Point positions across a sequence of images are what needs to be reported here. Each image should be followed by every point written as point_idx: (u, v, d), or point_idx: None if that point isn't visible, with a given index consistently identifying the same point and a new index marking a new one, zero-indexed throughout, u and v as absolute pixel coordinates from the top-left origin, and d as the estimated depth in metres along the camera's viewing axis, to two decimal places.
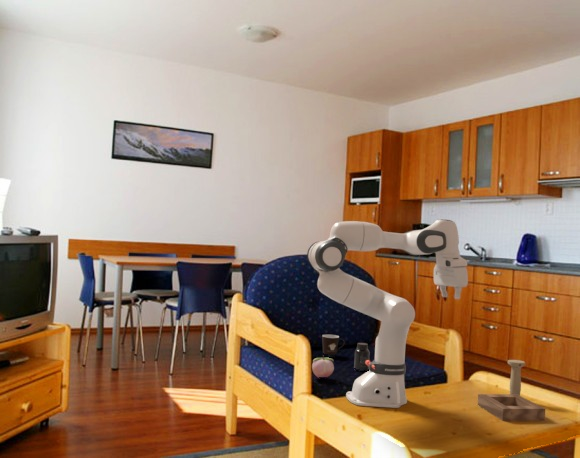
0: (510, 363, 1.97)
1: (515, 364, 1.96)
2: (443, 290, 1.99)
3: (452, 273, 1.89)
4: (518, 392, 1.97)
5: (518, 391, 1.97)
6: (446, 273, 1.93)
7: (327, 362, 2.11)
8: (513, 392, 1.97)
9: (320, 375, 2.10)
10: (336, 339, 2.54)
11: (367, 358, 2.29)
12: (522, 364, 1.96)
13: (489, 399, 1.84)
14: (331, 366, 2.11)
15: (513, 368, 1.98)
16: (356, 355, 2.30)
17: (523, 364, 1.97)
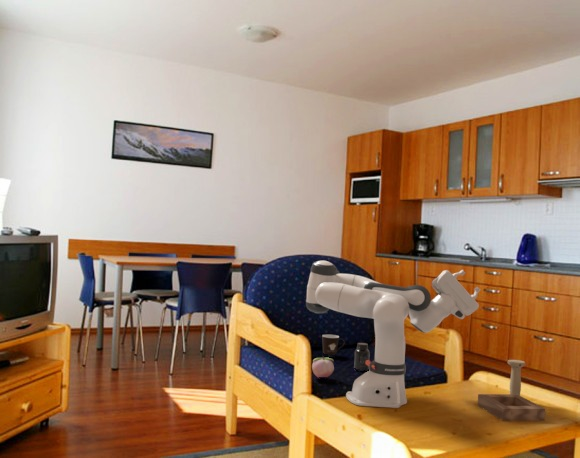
0: (510, 363, 1.97)
1: (515, 364, 1.96)
2: None
3: None
4: (518, 392, 1.97)
5: (518, 391, 1.97)
6: None
7: (327, 362, 2.11)
8: (513, 392, 1.97)
9: (320, 375, 2.10)
10: (336, 339, 2.54)
11: (367, 358, 2.29)
12: (522, 364, 1.96)
13: (489, 399, 1.84)
14: (331, 366, 2.11)
15: (513, 368, 1.98)
16: (356, 355, 2.30)
17: (523, 364, 1.97)
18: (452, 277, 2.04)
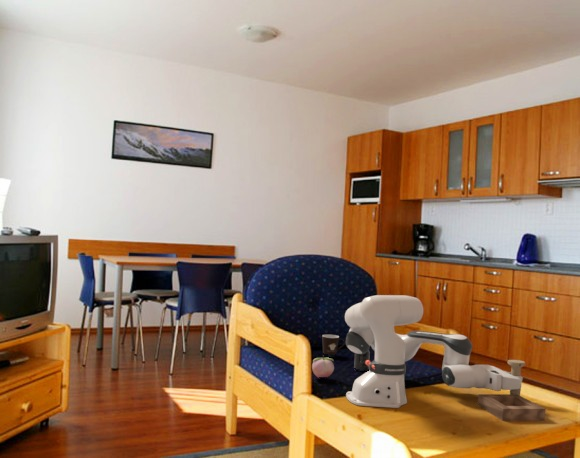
0: (510, 363, 1.97)
1: (515, 364, 1.96)
2: None
3: None
4: (518, 392, 1.97)
5: (518, 391, 1.97)
6: None
7: (327, 362, 2.11)
8: (513, 392, 1.97)
9: (320, 375, 2.10)
10: (336, 339, 2.54)
11: (367, 358, 2.29)
12: (522, 364, 1.96)
13: (489, 399, 1.84)
14: (331, 366, 2.11)
15: (513, 368, 1.98)
16: (356, 355, 2.30)
17: (523, 364, 1.97)
18: (495, 367, 2.04)
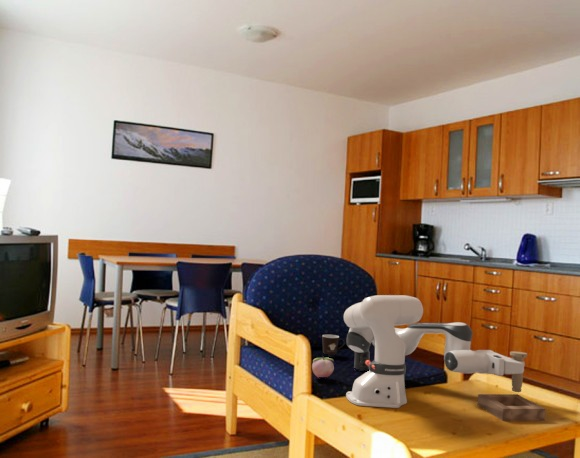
0: (513, 354, 1.97)
1: (518, 355, 1.96)
2: None
3: None
4: (520, 383, 1.96)
5: (520, 382, 1.96)
6: None
7: (327, 362, 2.11)
8: (515, 383, 1.97)
9: (320, 375, 2.10)
10: (336, 339, 2.54)
11: (367, 358, 2.29)
12: (525, 355, 1.97)
13: (489, 399, 1.84)
14: (331, 366, 2.11)
15: (516, 359, 1.98)
16: (356, 355, 2.30)
17: (526, 355, 1.97)
18: (497, 353, 2.04)
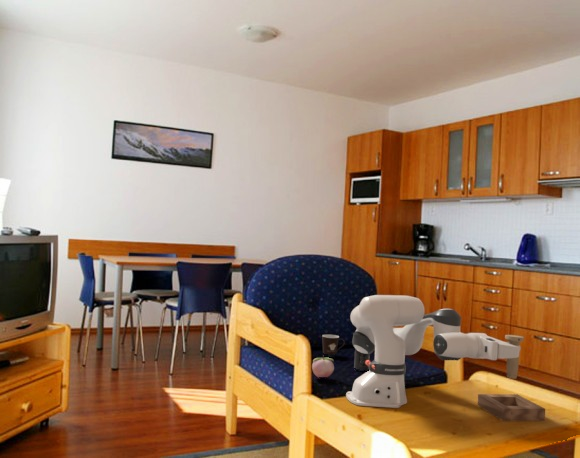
0: (508, 338, 1.82)
1: (514, 339, 1.81)
2: None
3: None
4: (516, 369, 1.81)
5: (516, 368, 1.81)
6: None
7: (327, 362, 2.11)
8: (510, 369, 1.81)
9: (320, 375, 2.10)
10: (336, 339, 2.54)
11: (367, 358, 2.29)
12: (521, 339, 1.81)
13: (489, 399, 1.84)
14: (331, 366, 2.11)
15: (511, 343, 1.82)
16: (356, 355, 2.30)
17: (522, 339, 1.82)
18: (491, 337, 1.89)
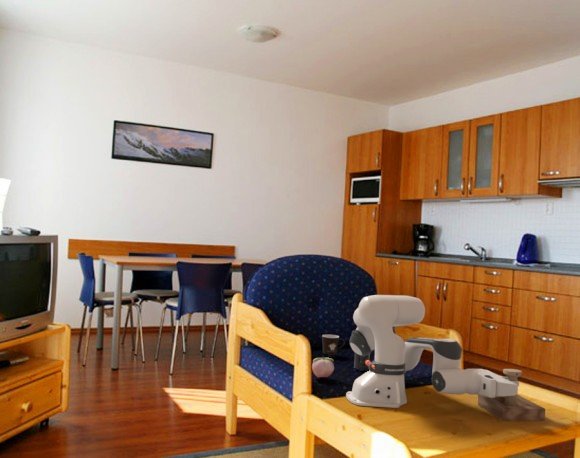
0: (506, 372, 1.81)
1: (512, 373, 1.81)
2: None
3: None
4: (514, 404, 1.81)
5: (514, 403, 1.81)
6: None
7: (327, 362, 2.11)
8: (509, 404, 1.81)
9: (320, 375, 2.10)
10: (336, 339, 2.54)
11: (367, 358, 2.29)
12: (519, 373, 1.81)
13: (489, 399, 1.84)
14: (331, 366, 2.11)
15: (509, 378, 1.82)
16: (356, 355, 2.30)
17: (520, 373, 1.81)
18: None
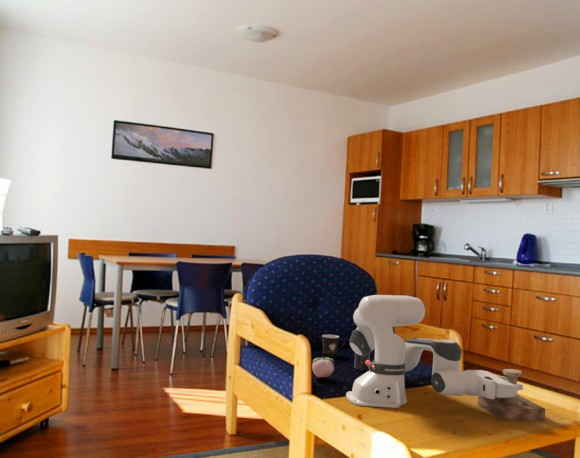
0: (506, 373, 1.81)
1: (511, 374, 1.80)
2: None
3: None
4: (514, 404, 1.81)
5: (514, 403, 1.81)
6: None
7: (327, 362, 2.11)
8: (509, 404, 1.81)
9: (320, 375, 2.10)
10: (336, 339, 2.54)
11: (367, 358, 2.29)
12: (519, 374, 1.81)
13: (489, 399, 1.84)
14: (331, 366, 2.11)
15: (509, 378, 1.81)
16: (356, 355, 2.30)
17: (520, 374, 1.81)
18: (489, 373, 1.89)
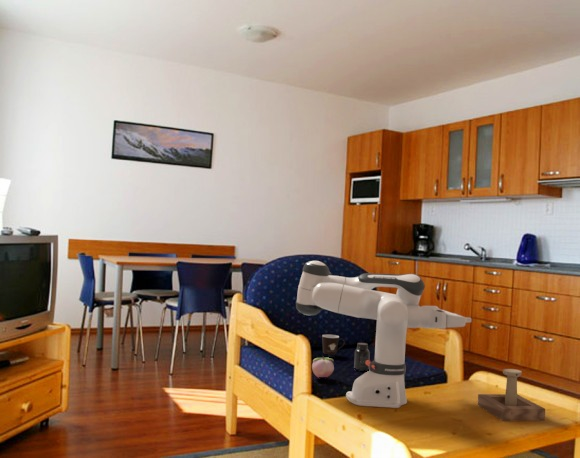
0: (506, 373, 1.81)
1: (511, 374, 1.80)
2: None
3: None
4: (514, 404, 1.81)
5: (514, 403, 1.81)
6: None
7: (327, 362, 2.11)
8: (509, 404, 1.81)
9: (320, 375, 2.10)
10: (336, 339, 2.54)
11: (367, 358, 2.29)
12: (519, 374, 1.81)
13: (489, 399, 1.84)
14: (331, 366, 2.11)
15: (509, 378, 1.82)
16: (356, 355, 2.30)
17: (520, 374, 1.81)
18: (444, 310, 2.10)
